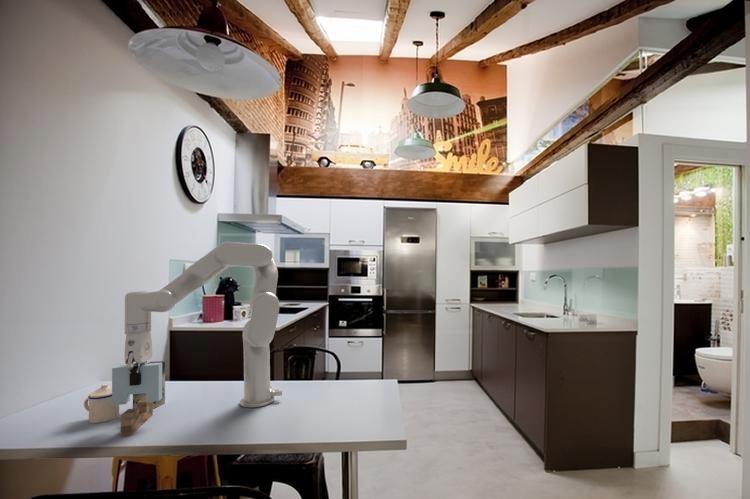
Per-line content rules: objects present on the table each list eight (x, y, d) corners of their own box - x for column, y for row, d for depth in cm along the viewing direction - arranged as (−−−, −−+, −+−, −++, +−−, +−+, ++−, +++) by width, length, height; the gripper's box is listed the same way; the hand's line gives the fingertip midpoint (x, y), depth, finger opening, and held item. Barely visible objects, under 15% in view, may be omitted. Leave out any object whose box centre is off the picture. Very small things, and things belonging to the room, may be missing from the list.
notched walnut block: (143, 415, 128) (143, 397, 128) (152, 415, 129) (152, 396, 129) (120, 436, 112) (120, 414, 113) (131, 435, 113) (131, 413, 113)
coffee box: (146, 412, 131) (146, 367, 132) (131, 411, 133) (132, 367, 134) (165, 403, 140) (165, 360, 141) (151, 402, 142) (151, 360, 142)
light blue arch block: (162, 398, 124) (162, 362, 124) (158, 401, 121) (158, 364, 121) (116, 402, 121) (116, 365, 122) (111, 405, 118) (112, 368, 119)
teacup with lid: (126, 413, 131) (126, 380, 132) (105, 423, 122) (105, 388, 123) (95, 413, 132) (95, 380, 133) (72, 423, 123) (73, 389, 124)
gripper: (139, 331, 115) (139, 390, 114) (159, 324, 131) (159, 375, 130) (113, 333, 113) (112, 392, 112) (136, 325, 129) (136, 377, 128)
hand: (137, 382), depth 121 cm, fingers closed on light blue arch block, 3 cm apart
